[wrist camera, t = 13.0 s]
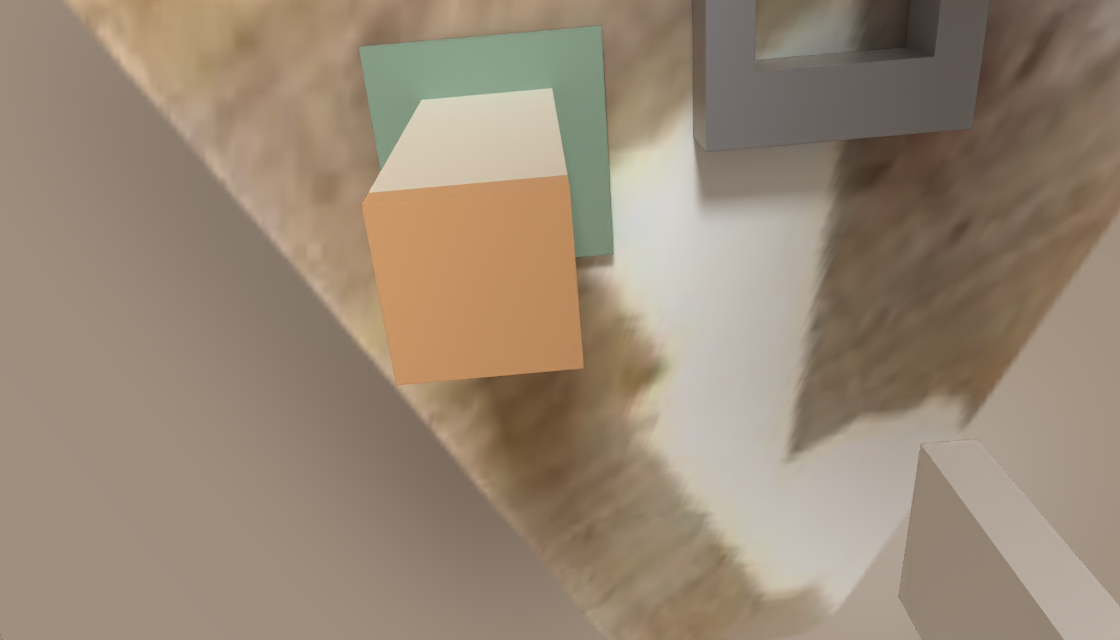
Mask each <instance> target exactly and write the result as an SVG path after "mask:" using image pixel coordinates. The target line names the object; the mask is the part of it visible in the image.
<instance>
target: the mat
mask: <svg viewBox="0 0 1120 640" xmlns="http://www.w3.org/2000/svg"><path fill="white" fill-rule="evenodd" d="M359 51H360V57H361V62H362V68H363V74H364V79H365V85H366V91H367V96H368V102H369V108H370V114H371V119H372V125H373V131H374V136H375V142H376V148H377V153H378V159H379V165H380V170H382V168H383V167H384V165H385V163H386V161H387V160H388V158H389V156H390V154H391V153H392V151H393V149H394V147H395V146H396V144H397V142H398V140H399V139H400V137H401V135H402V133H403V131H404V130H405V128H406V126H407V124H408V123H409V121H410V119H411V117H412V116H413V114H414V112H415V110H416V109H417V107H418V105H419V103H420V102H421V100H426V99H437V98H448V97H460V96H471V95H482V94H493V93H504V92H515V91H526V90H537V89H548V88H552V90H553V95H554V101H555V107H556V112H557V118H558V124H559V129H560V135H561V140H562V146H563V152H564V157H565V163H566V169H567V174H568V180H569V186H570V198H571V210H572V223H573V236H574V249H575V257H586V256H597V255H609V254H613V237H612V218H611V199H610V180H609V161H608V143H607V124H606V105H605V86H604V67H603V48H602V29H601V26H591V27H580V28H568V29H557V30H545V31H534V32H522V33H510V34H499V35H487V36H476V37H464V38H453V39H441V40H430V41H418V42H407V43H395V44H383V45H372V46H362V47H360V48H359Z"/></svg>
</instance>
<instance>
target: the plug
mask: <svg viewBox="0 0 1120 640" xmlns="http://www.w3.org/2000/svg"><path fill="white" fill-rule="evenodd" d="M362 210H363V215H364V220H365V225H366V231H367V236H368V241H369V246H370V251H371V256H372V262H373V267H374V272H375V277H376V282H377V287H378V293H379V298H380V303H381V308H382V313H383V318H384V324H385V329H386V334H387V339H388V344H389V350H390V355H391V360H392V365H393V370H394V375H395V381H396V385H405V384H416V383H427V382H438V381H449V380H460V379H471V378H482V377H493V376H504V375H515V374H526V373H538V372H549V371H560V370H571V369H582V368H584V364H583V351H582V338H581V325H580V312H579V300H578V287H577V274H576V261H575V249H574V236H573V223H572V210H571V198H570V186H569V180H568V174H567V169H566V163H565V157H564V152H563V146H562V140H561V135H560V129H559V124H558V118H557V112H556V107H555V101H554V95H553V90H552V88H548V89H537V90H526V91H515V92H504V93H493V94H482V95H471V96H460V97H448V98H437V99H426V100H421V102H420V103H419V105H418V107H417V109H416V110H415V112H414V114H413V116H412V117H411V119H410V121H409V123H408V124H407V126H406V128H405V130H404V131H403V133H402V135H401V137H400V139H399V140H398V142H397V144H396V146H395V147H394V149H393V151H392V153H391V154H390V156H389V158H388V160H387V161H386V163H385V165H384V167H383V168H382V170H381V172H380V174H379V175H378V177H377V179H376V181H375V182H374V184H373V186H372V188H371V189H370V191H369V193H368V195H367V197H366V198H365V200H364V202H363V204H362Z"/></svg>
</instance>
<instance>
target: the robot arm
mask: <svg viewBox="0 0 1120 640" xmlns="http://www.w3.org/2000/svg"><path fill="white" fill-rule="evenodd" d="M899 598H900V600H901V602H902V604H903V605H904V607H905V609H906V611H907V613H908V615H909V617H910V618H911V620H912V622H913V624H914V626H915V628H916V630H917V631H918V633H919V635H920V637H921V639H922V640H1120V607H1119V605H1118V604H1117V603H1116V602H1115V601H1114V599H1113V598H1112V597H1111V596H1110V595H1109V593H1108V592H1107V591H1106V590H1105V589H1104V588H1103V586H1102V585H1101V584H1100V583H1099V582H1098V581H1097V579H1096V578H1095V577H1094V576H1093V575H1092V573H1091V572H1090V571H1089V570H1088V569H1087V567H1086V566H1085V565H1084V564H1083V563H1082V562H1081V561H1080V559H1079V558H1078V557H1077V556H1076V554H1075V553H1074V552H1073V551H1072V550H1071V548H1070V547H1069V546H1068V545H1067V544H1066V543H1065V541H1064V540H1063V539H1062V538H1061V537H1060V535H1059V534H1058V533H1057V532H1056V531H1055V530H1054V528H1053V527H1052V526H1051V525H1050V524H1049V522H1048V521H1047V520H1046V519H1045V518H1044V517H1043V515H1042V514H1041V513H1040V512H1039V511H1038V510H1037V508H1036V507H1035V506H1034V505H1033V504H1032V502H1031V501H1030V500H1029V499H1028V498H1027V496H1026V495H1025V494H1024V493H1023V492H1022V491H1021V490H1020V488H1019V487H1018V486H1017V485H1016V483H1015V482H1014V481H1013V480H1012V479H1011V477H1010V476H1009V475H1008V474H1007V473H1006V472H1005V470H1004V469H1003V468H1002V467H1001V466H1000V465H999V463H998V462H997V461H996V460H995V459H994V458H993V456H992V455H991V454H990V453H989V451H988V450H987V449H986V448H985V447H984V446H983V445H982V443H981V442H980V441H979V440H978V439H970V440H958V441H947V442H935V443H923V444H921V445H920V452H919V459H918V466H917V473H916V479H915V486H914V493H913V500H912V507H911V514H910V521H909V528H908V535H907V542H906V548H905V555H904V562H903V569H902V576H901V583H900V590H899ZM0 640H3V639H2V637H1V635H0Z"/></svg>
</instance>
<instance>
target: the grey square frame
mask: <svg viewBox="0 0 1120 640" xmlns="http://www.w3.org/2000/svg"><path fill="white" fill-rule="evenodd" d="M989 6H990V0H910V8H909V18H908V28H907V38H906V47H901V48H890V49H878V50H867V51H855V52H844V53H832V54H821V55H809V56H798V57H786V58H775V59H763V60H755V24H756V0H692V10H693V136H694V138H695V139H696V140H697V141H698V143H699V144H700V145H701V147H702V148H703V149H704V150H705V152H712V151H723V150H735V149H746V148H758V147H769V146H781V145H792V144H803V143H815V142H826V141H838V140H849V139H861V138H872V137H884V136H895V135H907V134H918V133H930V132H941V131H953V130H964V129H972V128H973V120H974V113H975V106H976V99H977V92H978V85H979V77H980V70H981V63H982V56H983V49H984V42H985V34H986V27H987V20H988V13H989Z"/></svg>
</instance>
